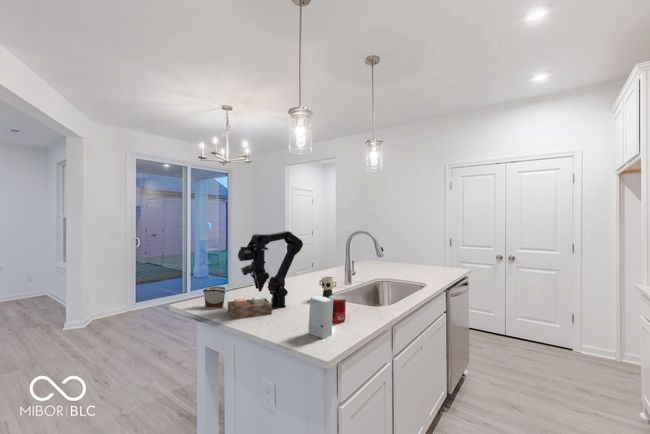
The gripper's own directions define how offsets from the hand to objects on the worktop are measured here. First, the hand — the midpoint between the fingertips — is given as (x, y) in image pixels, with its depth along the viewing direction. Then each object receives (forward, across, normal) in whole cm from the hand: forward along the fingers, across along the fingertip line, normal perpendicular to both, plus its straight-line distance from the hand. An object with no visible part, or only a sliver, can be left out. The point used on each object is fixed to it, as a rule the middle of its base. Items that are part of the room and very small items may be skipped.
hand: (258, 290), depth 151 cm
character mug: (+11, -6, +42) cm, 44 cm away
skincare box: (+11, +40, +16) cm, 45 cm away
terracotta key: (+8, 0, -9) cm, 12 cm away
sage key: (+7, 0, 0) cm, 8 cm away
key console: (+11, 0, -4) cm, 12 cm away
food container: (+11, -19, -18) cm, 28 cm away
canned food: (+11, +28, +30) cm, 43 cm away
